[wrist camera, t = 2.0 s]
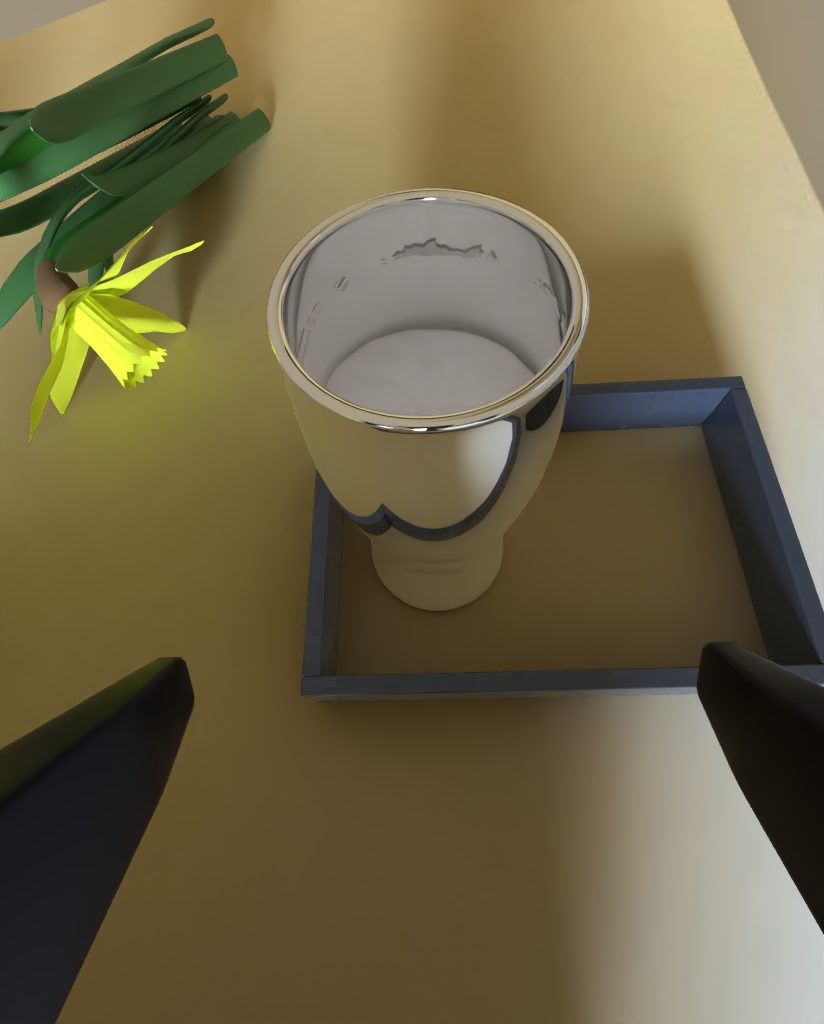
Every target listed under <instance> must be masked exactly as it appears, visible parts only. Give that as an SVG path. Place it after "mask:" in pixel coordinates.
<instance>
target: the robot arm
mask: <svg viewBox="0 0 824 1024" xmlns="http://www.w3.org/2000/svg"><path fill="white" fill-rule="evenodd" d="M697 692H698V696H699V699H700V701H701V703H702V705H703V708H704V710H705V712H706V714H707V717H708V719H709V721H710V723H711V726H712V728H713V730H714V732H715V735H716V737H717V739H718V741H719V744H720V746H721V748H722V750H723V753H724V755H725V757H726V759H727V762H728V764H729V766H730V768H731V770H732V772H733V775H734V777H735V779H736V781H737V783H738V785H739V787H740V788H741V790H742V792H743V794H744V796H745V798H746V799H747V801H748V803H749V805H750V806H751V808H752V810H753V812H754V813H755V815H756V817H757V819H758V820H759V822H760V824H761V826H762V827H763V829H764V831H765V833H766V834H767V836H768V838H769V840H770V841H771V843H772V845H773V847H774V848H775V850H776V852H777V854H778V855H779V857H780V859H781V861H782V862H783V864H784V866H785V868H786V869H787V871H788V873H789V875H790V876H791V878H792V880H793V882H794V883H795V885H796V887H797V889H798V890H799V892H800V894H801V896H802V897H803V899H804V901H805V903H806V904H807V906H808V908H809V910H810V911H811V913H812V915H813V917H814V918H815V920H816V922H817V924H818V925H819V927H820V929H821V931H822V932H823V934H824V686H822V685H819V684H817V683H815V682H813V681H811V680H809V679H807V678H805V677H803V676H801V675H799V674H797V673H795V672H793V671H791V670H789V669H786V668H784V667H782V666H780V665H778V664H776V663H774V662H772V661H770V660H768V659H766V658H764V657H762V656H760V655H758V654H756V653H754V652H751V651H749V650H747V649H745V648H743V647H741V646H739V645H737V644H735V643H732V642H710V643H707V644H706V645H704V647H703V650H702V654H701V659H700V665H699V671H698V676H697ZM193 706H194V692H193V688H192V684H191V680H190V676H189V672H188V668H187V665H186V662H185V661H184V659H182V658H181V657H162V658H158V659H156V660H154V661H152V662H150V663H149V664H147V665H145V666H144V667H142V668H140V669H138V670H137V671H135V672H133V673H132V674H130V675H128V676H126V677H125V678H123V679H121V680H119V681H118V682H116V683H114V684H113V685H111V686H109V687H107V688H106V689H104V690H102V691H101V692H99V693H97V694H95V695H94V696H92V697H90V698H88V699H87V700H85V701H83V702H82V703H80V704H78V705H76V706H75V707H73V708H71V709H69V710H68V711H66V712H64V713H63V714H61V715H59V716H57V717H56V718H54V719H52V720H51V721H49V722H47V723H45V724H44V725H42V726H40V727H38V728H37V729H35V730H33V731H32V732H30V733H28V734H26V735H25V736H23V737H21V738H20V739H18V740H16V741H14V742H13V743H11V744H9V745H7V746H6V747H4V748H2V749H1V750H0V1024H55V1023H56V1021H57V1018H58V1016H59V1014H60V1012H61V1010H62V1008H63V1006H64V1004H65V1001H66V999H67V997H68V995H69V993H70V991H71V989H72V986H73V984H74V982H75V980H76V978H77V976H78V974H79V971H80V969H81V967H82V965H83V963H84V961H85V959H86V957H87V954H88V952H89V950H90V948H91V946H92V944H93V942H94V939H95V937H96V935H97V933H98V931H99V929H100V927H101V925H102V922H103V920H104V918H105V916H106V914H107V912H108V910H109V907H110V905H111V903H112V901H113V899H114V897H115V895H116V892H117V890H118V888H119V886H120V884H121V882H122V880H123V878H124V875H125V873H126V871H127V869H128V867H129V865H130V863H131V860H132V858H133V856H134V854H135V852H136V850H137V848H138V845H139V843H140V841H141V839H142V837H143V835H144V833H145V831H146V828H147V826H148V824H149V822H150V820H151V818H152V816H153V813H154V811H155V809H156V807H157V805H158V803H159V800H160V798H161V796H162V794H163V791H164V789H165V786H166V783H167V781H168V778H169V776H170V773H171V770H172V767H173V764H174V761H175V758H176V756H177V753H178V750H179V747H180V744H181V741H182V739H183V736H184V733H185V730H186V727H187V724H188V721H189V719H190V716H191V713H192V710H193Z"/></svg>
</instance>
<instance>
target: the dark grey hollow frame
mask: <svg viewBox="0 0 824 1024" xmlns="http://www.w3.org/2000/svg"><path fill="white" fill-rule="evenodd" d="M697 425H702V430H703V433H704V437H705V440H706V444H707V447H708V450H709V454H710V457H711V461H712V464H713V468H714V471H715V474H716V478H717V481H718V485H719V488H720V491H721V495H722V498H723V502H724V505H725V509H726V512H727V515H728V519H729V522H730V526H731V529H732V532H733V536H734V539H735V543H736V546H737V549H738V553H739V556H740V560H741V563H742V567H743V570H744V573H745V577H746V580H747V584H748V587H749V590H750V594H751V597H752V601H753V604H754V608H755V611H756V614H757V618H758V621H759V625H760V628H761V631H762V635H763V638H764V642H765V645H766V648H767V652H768V655H769V659H770V661H772V662H774V663H776V664H778V665H780V666H782V667H784V668H786V669H789V670H791V671H793V672H795V673H797V674H799V675H801V676H803V677H805V678H807V679H809V680H811V681H813V682H815V683H817V684H819V685H822V686H824V611H823V608H822V606H821V603H820V600H819V597H818V594H817V591H816V588H815V585H814V583H813V580H812V577H811V574H810V571H809V568H808V565H807V562H806V560H805V557H804V554H803V551H802V548H801V545H800V542H799V539H798V537H797V534H796V531H795V528H794V525H793V522H792V519H791V516H790V514H789V511H788V508H787V505H786V502H785V499H784V496H783V493H782V490H781V488H780V485H779V482H778V479H777V476H776V473H775V470H774V467H773V465H772V462H771V459H770V456H769V453H768V450H767V447H766V444H765V442H764V439H763V436H762V433H761V430H760V427H759V424H758V421H757V419H756V416H755V413H754V410H753V407H752V404H751V401H750V398H749V396H748V393H747V390H746V389H745V384H744V382H743V379H742V377H741V376H737V377H717V378H698V379H678V380H658V381H638V382H618V383H598V384H578V385H572V388H571V392H570V396H569V401H568V405H567V409H566V413H565V417H564V420H563V424H562V427H561V430H560V432H566V431H588V430H610V429H632V428H653V427H675V426H697ZM342 527H343V510H342V508H341V507H340V506H339V505H338V504H337V502H336V501H335V499H334V498H333V497H332V495H331V493H330V492H329V490H328V488H327V486H326V485H325V483H324V481H323V479H322V477H321V475H320V474H319V472H318V470H317V468H316V482H315V497H314V511H313V526H312V540H311V555H310V570H309V584H308V599H307V613H306V628H305V642H304V657H303V671H302V676H303V677H302V686H301V696H303V697H306V698H309V699H312V700H316V701H319V702H336V701H383V700H429V699H476V698H522V697H568V696H615V695H661V694H698V692H697V676H698V671H699V667H674V668H632V669H591V670H549V671H507V672H466V673H424V674H382V675H341V676H336V667H337V644H338V621H339V597H340V574H341V550H342Z"/></svg>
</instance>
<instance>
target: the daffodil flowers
mask: <svg viewBox="0 0 824 1024" xmlns="http://www.w3.org/2000/svg"><path fill="white" fill-rule="evenodd" d="M214 22H215V21H214V19H212V18H209V19H206V20H204V21H202V22H199V23H197V24H195V25H193V26H191V27H188V28H186V29H184V30H182V31H180V32H177V33H175V34H173V35H171V36H169V37H166V38H164V39H163V40H161V41H159V42H157V43H155V44H154V45H152V46H150V47H148V48H147V49H145V50H143V51H141V52H140V53H138V54H136V55H134V56H132V57H131V58H129V59H127V60H125V61H124V62H122V63H120V64H118V65H117V66H115V67H113V68H111V69H109V70H107V71H106V72H104V73H102V74H100V75H98V76H96V77H95V78H93V79H91V80H89V81H87V82H85V83H84V84H82V85H80V86H78V87H76V88H74V89H73V90H71V91H69V92H67V93H65V94H62V95H60V96H57V97H55V98H52V99H50V100H47V101H45V102H43V103H41V104H40V105H38V106H36V107H35V108H31V109H24V110H16V111H7V112H0V202H2V201H4V200H6V199H9V198H11V197H14V196H16V195H18V194H20V193H22V192H25V191H27V190H29V189H31V188H33V187H36V186H38V185H40V184H42V183H44V182H47V181H49V180H50V179H52V178H54V177H56V176H58V175H60V174H62V173H64V172H66V171H68V170H69V169H71V168H73V167H75V166H77V165H79V164H80V163H82V162H84V161H86V160H88V159H90V158H91V157H93V156H95V155H97V154H99V153H101V152H103V151H105V150H107V149H109V148H111V147H113V146H115V145H117V144H119V143H121V142H123V141H125V140H127V139H129V138H131V137H133V136H135V135H137V134H139V133H141V132H143V131H145V130H147V129H149V128H151V127H152V126H154V125H156V124H158V123H160V122H162V121H164V120H166V119H168V118H170V117H172V116H173V115H175V114H177V113H179V112H181V111H183V110H184V109H186V108H187V109H186V110H184V111H183V112H181V113H180V114H178V115H177V116H175V117H174V118H173V119H171V120H170V121H169V122H167V123H166V124H165V125H164V126H162V127H161V128H160V129H158V130H156V131H155V132H153V133H151V134H149V135H147V136H146V137H144V138H142V139H140V140H138V141H136V142H134V143H133V144H131V145H129V146H127V147H125V148H123V149H121V150H119V151H117V152H115V153H113V154H112V155H110V156H108V157H106V158H104V159H102V160H100V161H98V162H96V163H94V164H93V165H91V166H89V167H87V168H85V169H83V170H81V171H79V172H77V173H75V174H74V175H72V176H70V177H68V178H66V179H64V180H62V181H60V182H58V183H57V184H55V185H53V186H51V187H49V188H47V189H46V190H44V191H42V192H40V193H38V194H36V195H34V196H32V197H30V198H28V199H26V200H24V201H22V202H20V203H17V204H15V205H13V206H10V207H7V208H5V209H2V210H0V237H4V236H9V235H13V234H18V233H21V232H24V231H26V230H29V229H31V228H33V227H35V226H37V225H40V224H41V223H43V222H45V221H47V220H49V219H51V220H50V222H49V224H48V226H47V228H46V230H45V231H44V233H43V236H42V239H41V242H40V243H38V244H37V245H36V246H35V247H34V248H33V249H32V250H31V251H30V252H29V253H28V254H27V255H26V256H25V257H24V258H23V259H22V260H21V261H20V262H19V263H18V265H17V266H16V267H15V269H14V270H13V272H12V273H11V274H10V276H9V277H8V279H7V280H6V281H5V283H4V284H3V286H2V288H1V290H0V330H1V328H2V327H3V326H4V325H5V324H6V323H7V322H8V321H9V320H10V319H11V318H12V316H13V315H14V314H15V313H16V312H17V311H18V310H19V309H20V307H21V306H22V305H23V304H24V303H25V302H26V301H27V300H28V298H29V297H30V296H31V295H32V294H33V297H34V304H35V311H36V318H37V324H38V331H39V335H40V334H41V328H42V319H43V307H44V308H45V309H46V310H47V311H49V312H51V313H53V314H56V318H55V321H54V324H53V328H52V331H51V335H50V340H51V354H52V361H51V363H50V365H49V367H48V369H47V370H46V372H45V374H44V376H43V377H42V379H41V381H40V383H39V385H38V388H37V391H36V394H35V396H34V399H33V402H32V405H31V408H30V421H31V431H30V437H29V442H28V445H29V443H30V441H31V439H32V437H33V435H34V433H35V430H36V428H37V425H38V423H39V420H40V418H41V415H42V412H43V410H44V407H45V405H46V402H47V399H48V397H49V395H50V397H51V399H52V401H53V403H54V405H55V406H56V408H57V410H58V411H59V412H60V414H62V415H63V414H64V412H65V410H66V408H67V406H68V404H69V402H70V400H71V397H72V394H73V392H74V389H75V386H76V383H77V380H78V377H79V374H80V371H81V368H82V365H83V362H84V360H85V357H86V354H87V351H88V348H89V345H90V346H91V347H92V348H93V349H94V350H95V351H96V352H97V354H98V355H99V356H100V357H101V358H102V359H103V361H104V362H105V363H106V364H107V365H108V367H109V368H110V369H111V370H112V372H113V373H114V375H115V376H116V377H117V379H118V380H119V381H120V383H121V384H122V386H123V387H124V386H125V387H126V388H127V389H128V390H129V391H130V388H129V385H131V386H133V387H135V388H136V381H137V382H141V383H144V377H143V376H151V377H152V374H151V369H159V367H158V364H157V362H165V361H164V359H163V358H162V356H161V355H167V354H166V353H165V352H164V351H166V350H165V349H163V348H161V347H159V346H158V345H156V344H154V343H153V342H151V341H149V340H147V339H146V338H144V337H142V336H141V335H139V334H138V333H146V332H155V331H158V332H166V333H176V332H182V331H184V330H186V328H185V327H184V326H183V325H181V324H180V323H178V322H177V321H175V320H173V319H172V318H170V317H168V316H166V315H164V314H162V313H160V312H159V311H156V310H154V309H151V308H149V307H146V306H144V305H141V304H139V303H136V302H133V301H130V300H126V299H123V298H120V297H119V296H121V295H124V294H126V293H128V292H129V291H130V290H131V289H133V288H134V287H135V286H136V285H137V284H139V283H140V282H141V281H142V280H143V279H145V278H146V277H147V276H148V275H149V274H151V273H152V272H153V271H154V270H155V269H157V268H158V267H160V266H161V265H162V264H164V263H165V262H167V261H168V260H169V259H171V258H172V257H174V256H175V255H178V254H182V253H185V252H189V251H192V250H194V249H195V248H197V247H198V246H200V245H201V244H202V243H203V242H204V241H201V242H198V243H196V244H194V245H191V246H189V247H186V248H184V249H181V250H178V251H175V252H173V253H170V254H168V255H165V256H163V257H160V258H158V259H155V260H153V261H151V262H149V263H147V264H144V265H142V266H140V267H138V268H136V269H134V270H132V271H130V272H128V273H126V274H124V275H122V276H120V277H118V278H116V279H114V277H115V276H116V275H117V274H118V273H119V271H120V269H121V267H122V265H123V262H124V260H125V258H126V256H127V253H128V251H129V250H130V249H131V248H132V247H133V246H134V245H135V244H136V243H137V242H138V241H139V240H140V239H141V238H142V237H143V236H144V235H145V234H146V233H148V232H149V231H150V230H151V229H152V228H153V226H152V227H150V228H149V229H148V230H147V231H146V232H145V233H142V234H139V233H140V232H142V231H143V230H144V229H145V228H147V227H148V226H149V225H151V224H152V223H153V222H154V221H156V220H157V219H158V218H159V217H161V216H162V215H163V214H164V213H166V212H167V211H168V210H169V209H171V208H172V207H173V206H174V205H176V204H177V203H178V202H179V201H181V200H182V199H183V198H184V197H186V196H187V195H188V194H189V193H191V192H192V191H193V190H194V189H196V188H197V187H198V186H199V185H201V184H202V183H203V182H204V181H206V180H207V179H208V178H210V177H211V176H212V175H213V174H215V173H216V172H217V171H218V170H220V169H221V168H222V167H223V166H225V165H226V164H227V163H228V162H230V161H231V160H232V159H233V158H235V157H236V156H237V155H238V154H240V153H241V152H242V151H243V150H245V149H246V148H247V147H248V146H250V145H251V144H252V143H253V142H255V141H256V140H257V139H258V138H260V137H261V136H262V135H264V134H265V133H266V132H267V131H269V130H270V129H271V127H270V123H269V121H268V119H267V117H266V116H265V114H264V113H263V112H262V110H261V109H259V108H258V109H256V110H255V111H253V112H252V113H250V114H249V115H247V116H246V117H245V118H243V119H242V120H240V119H239V118H238V116H237V115H236V114H234V113H233V112H230V113H228V114H226V115H225V116H224V115H217V116H214V117H213V118H211V117H209V116H208V115H209V114H210V113H211V112H213V111H214V110H215V109H217V108H218V107H220V106H221V105H222V104H224V103H225V102H226V100H227V98H228V94H223V95H222V96H220V97H219V98H217V99H216V100H214V101H213V102H212V103H210V104H209V102H210V101H211V98H212V96H211V95H207V96H206V97H204V98H203V99H201V96H203V95H205V94H207V93H209V92H210V91H212V90H214V89H216V88H218V87H219V86H221V85H223V84H225V83H227V82H228V81H230V80H232V79H234V78H236V77H237V76H238V71H237V68H236V66H235V64H234V62H233V60H232V58H231V57H230V56H229V55H227V52H226V49H225V46H224V44H223V42H222V40H221V38H220V36H219V35H218V34H215V35H212V36H210V37H207V38H205V39H202V40H200V41H197V42H195V43H193V44H190V45H188V46H185V47H183V48H180V49H178V50H175V51H173V52H170V53H168V54H165V55H163V56H160V57H158V58H155V59H153V60H151V59H152V58H154V57H156V56H157V55H159V54H161V53H162V52H164V51H166V50H167V49H169V48H171V47H173V46H176V45H178V44H180V43H182V42H184V41H186V40H188V39H190V38H192V37H194V36H196V35H198V34H200V33H202V32H204V31H206V30H208V29H210V28H211V27H212V26H213V25H214ZM149 60H150V61H149ZM147 61H148V62H147ZM208 104H209V105H208ZM205 106H206V107H205ZM188 107H189V108H188ZM204 107H205V108H204ZM202 108H203V109H202ZM201 109H202V110H201ZM199 110H200V111H199ZM198 111H199V112H198ZM196 112H197V113H196ZM195 113H196V114H195ZM194 114H195V115H194ZM192 115H194V116H192ZM191 116H192V117H191ZM189 117H191V118H190V119H189V120H188V121H187V122H186V123H185V124H184V125H182V124H181V123H182V122H183V121H185V120H186V119H188V118H189ZM99 189H100V191H99V192H98V193H97V194H95V195H94V196H93V197H92V198H90V199H89V200H88V201H87V202H86V203H84V204H83V205H82V206H81V207H80V208H78V209H77V210H76V211H75V212H74V213H72V214H71V215H70V216H69V217H68V218H66V219H65V217H66V216H67V215H68V213H69V212H70V211H71V210H72V209H73V208H74V207H75V206H76V205H77V204H78V203H79V202H80V201H81V200H83V199H84V198H86V197H88V196H89V195H91V194H93V193H94V192H96V191H98V190H99ZM64 219H65V220H64ZM63 220H64V221H63ZM138 234H139V235H138ZM136 236H137V237H136ZM134 237H136V238H135V239H134V240H133V242H132V243H131V244H130V245H129V246H128V248H127V249H126V250H125V251H124V252H123V253H122V255H121V256H120V257H119V258H118V259H117V260H116V261H115V262H114V264H113V254H114V253H116V252H117V251H118V250H119V249H121V248H122V247H123V246H124V245H126V244H127V243H128V242H129V241H131V240H132V239H133V238H134ZM104 267H105V269H106V273H105V274H104V275H103V270H104ZM86 269H89V270H88V275H89V287H88V288H87V286H88V284H87V285H85V286H83V287H80V288H79V287H78V286H77V284H76V283H75V282H74V281H73V280H72V279H71V278H70V276H69V275H68V274H67V273H77V272H81V271H84V270H86ZM163 350H164V351H163ZM125 387H124V388H125ZM125 390H126V389H125ZM27 447H28V446H27Z"/></svg>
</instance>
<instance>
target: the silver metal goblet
mask: <svg viewBox="0 0 824 1024" xmlns="http://www.w3.org/2000/svg"><path fill="white" fill-rule="evenodd" d="M589 312H590V296H589V288H588V283H587V279H586V276H585V273H584V270H583V268H582V265H581V263H580V261H579V259H578V258H577V256H576V254H575V253H574V251H573V249H572V248H571V247H570V245H569V244H568V243H567V241H566V240H565V239H564V238H563V237H562V236H561V235H560V234H559V233H558V232H557V231H556V230H555V229H554V228H553V227H552V226H551V225H549V224H548V223H547V222H546V221H544V220H543V219H541V218H540V217H539V216H537V215H535V214H534V213H532V212H530V211H529V210H527V209H525V208H523V207H521V206H519V205H517V204H514V203H512V202H510V201H507V200H504V199H502V198H499V197H496V196H492V195H488V194H484V193H480V192H475V191H469V190H462V189H452V188H421V189H411V190H403V191H397V192H392V193H388V194H384V195H380V196H376V197H373V198H370V199H367V200H364V201H361V202H359V203H356V204H354V205H352V206H349V207H347V208H345V209H343V210H341V211H339V212H337V213H336V214H334V215H332V216H330V217H329V218H327V219H326V220H324V221H323V222H321V223H320V224H318V225H317V226H316V227H314V228H313V229H312V230H311V231H310V232H308V233H307V234H306V235H305V236H304V237H303V238H302V239H301V240H300V241H299V242H298V243H297V244H296V245H295V246H294V247H293V249H292V250H291V251H290V252H289V254H288V255H287V257H286V258H285V259H284V261H283V263H282V264H281V266H280V268H279V269H278V271H277V274H276V276H275V278H274V280H273V283H272V286H271V289H270V293H269V297H268V302H267V329H268V335H269V340H270V343H271V346H272V349H273V352H274V354H275V356H276V358H277V360H278V362H279V364H280V367H281V370H282V373H283V376H284V380H285V383H286V386H287V390H288V393H289V397H290V400H291V403H292V406H293V409H294V412H295V415H296V418H297V421H298V424H299V427H300V430H301V433H302V435H303V438H304V440H305V443H306V445H307V447H308V450H309V452H310V455H311V457H312V460H313V462H314V464H315V466H316V468H317V470H318V472H319V474H320V475H321V477H322V479H323V481H324V483H325V485H326V486H327V488H328V490H329V492H330V493H331V495H332V497H333V498H334V499H335V501H336V502H337V504H338V505H339V506H340V507H341V508H342V510H343V511H344V512H345V513H346V515H347V516H348V517H349V518H350V519H351V521H352V522H353V523H354V524H355V525H356V526H357V527H358V528H359V529H360V530H361V531H362V532H363V533H364V534H365V535H366V536H367V537H368V538H369V539H370V540H371V541H372V543H371V550H372V559H373V563H374V566H375V569H376V572H377V574H378V576H379V578H380V579H381V581H382V582H383V584H384V585H385V586H386V588H387V589H388V590H389V591H390V592H391V593H392V594H393V595H395V596H396V597H397V598H399V599H400V600H401V601H403V602H405V603H407V604H409V605H411V606H414V607H417V608H420V609H424V610H432V611H443V610H450V609H455V608H458V607H461V606H464V605H466V604H468V603H470V602H472V601H473V600H475V599H476V598H478V597H479V596H480V595H482V594H483V593H484V592H485V591H486V590H487V589H488V588H489V586H490V585H491V584H492V582H493V581H494V579H495V578H496V576H497V574H498V571H499V569H500V566H501V562H502V557H503V537H502V535H503V534H504V532H505V531H506V530H507V529H508V528H509V527H510V526H511V524H512V523H513V522H514V521H515V520H516V519H517V517H518V516H519V515H520V513H521V512H522V511H523V509H524V508H525V506H526V505H527V503H528V502H529V500H530V499H531V497H532V496H533V494H534V493H535V491H536V489H537V488H538V486H539V484H540V482H541V480H542V477H543V475H544V473H545V471H546V468H547V466H548V464H549V462H550V459H551V457H552V455H553V452H554V449H555V446H556V443H557V440H558V437H559V433H560V430H561V427H562V424H563V420H564V417H565V413H566V409H567V405H568V401H569V396H570V392H571V388H572V383H573V379H574V374H575V369H576V364H577V359H578V354H579V350H580V346H581V343H582V341H583V338H584V336H585V333H586V329H587V325H588V320H589Z"/></svg>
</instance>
